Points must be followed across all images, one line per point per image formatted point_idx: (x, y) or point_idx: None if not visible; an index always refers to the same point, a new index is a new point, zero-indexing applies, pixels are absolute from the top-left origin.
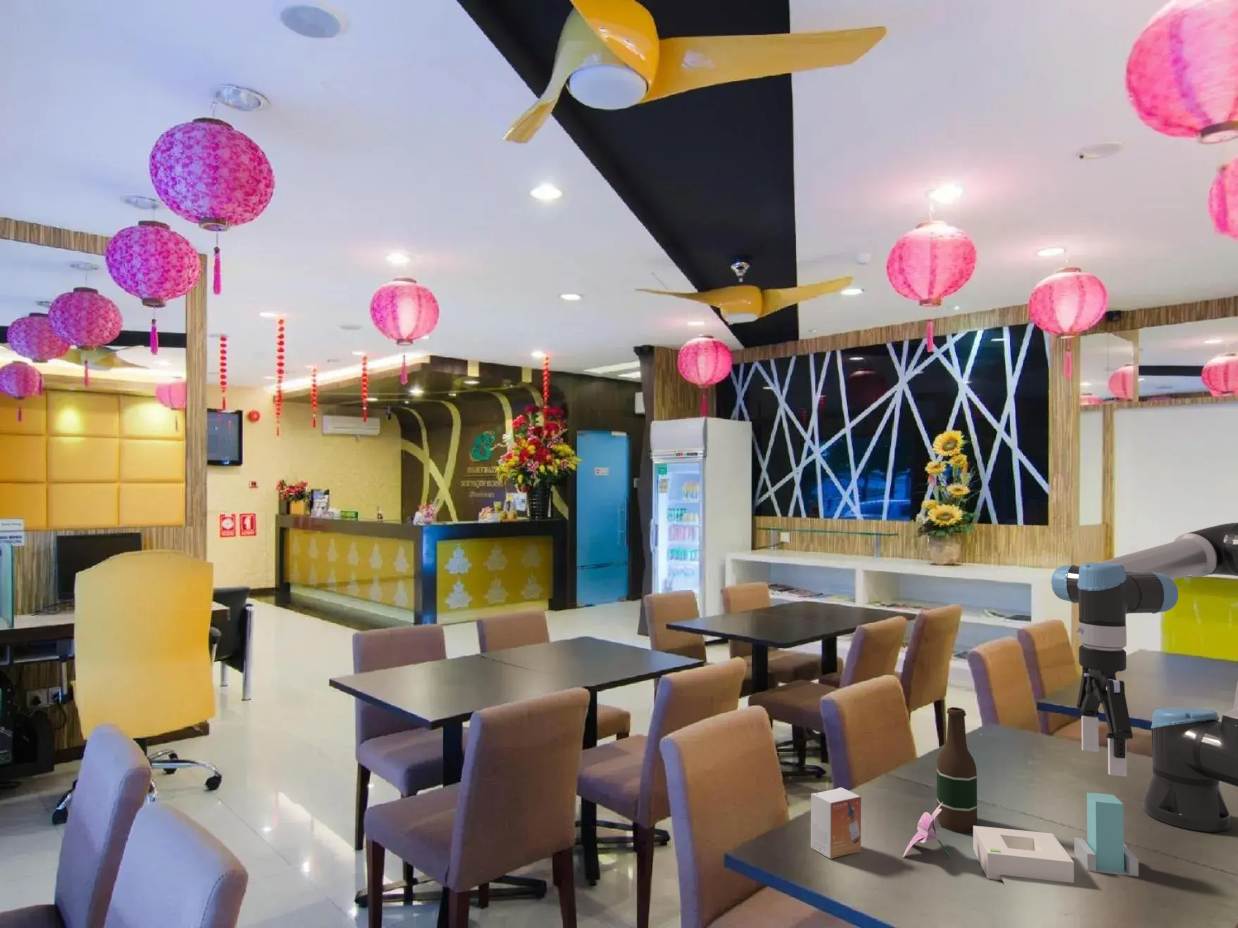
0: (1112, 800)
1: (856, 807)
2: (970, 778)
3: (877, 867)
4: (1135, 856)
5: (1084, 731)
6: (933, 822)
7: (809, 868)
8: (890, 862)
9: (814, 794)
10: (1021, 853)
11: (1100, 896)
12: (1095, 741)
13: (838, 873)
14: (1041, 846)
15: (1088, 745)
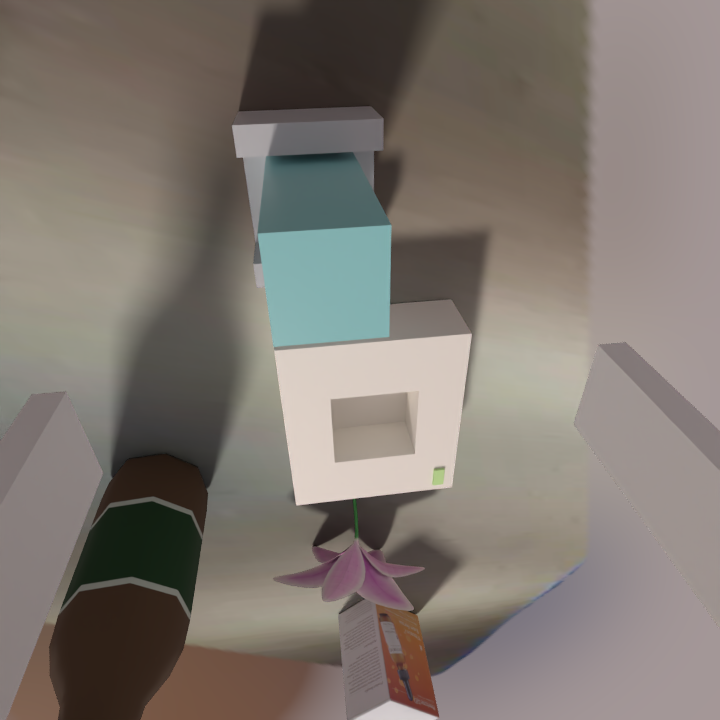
0: (350, 261)
1: (396, 680)
2: (168, 591)
3: (429, 571)
4: (363, 121)
5: (42, 604)
6: (357, 575)
7: (451, 625)
8: (405, 561)
9: None
10: (440, 432)
11: (484, 248)
12: (40, 470)
13: (461, 602)
14: (384, 389)
15: (78, 479)
